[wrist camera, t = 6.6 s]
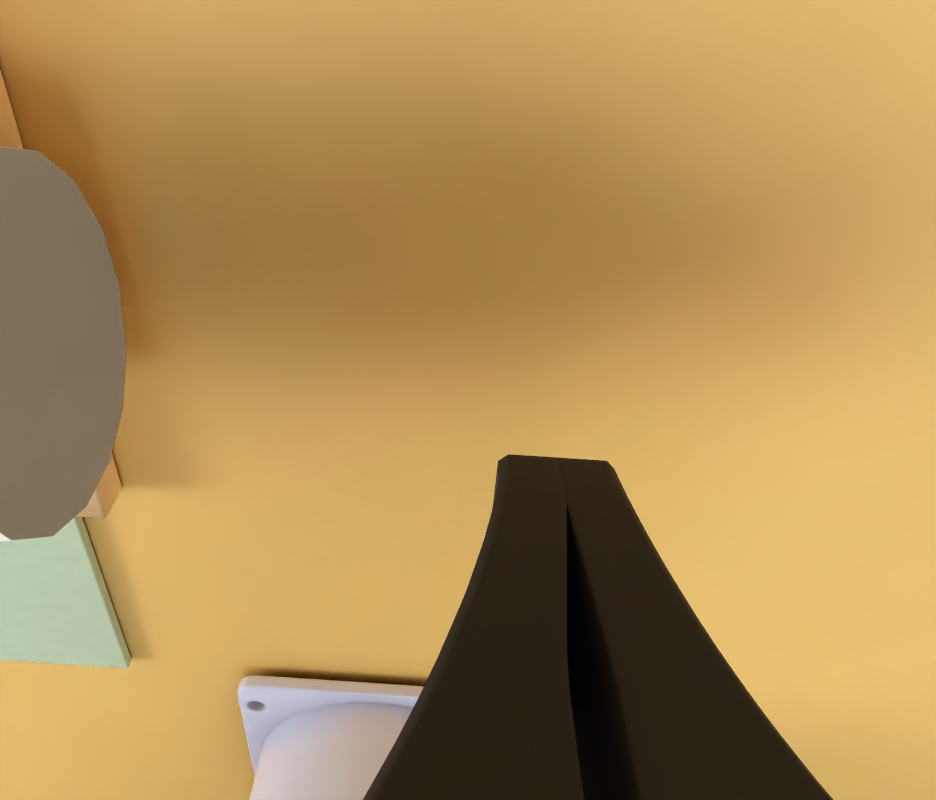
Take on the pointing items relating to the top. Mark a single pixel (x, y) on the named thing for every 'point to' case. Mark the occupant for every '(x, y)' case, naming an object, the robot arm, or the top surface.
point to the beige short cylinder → (54, 348)
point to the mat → (57, 602)
